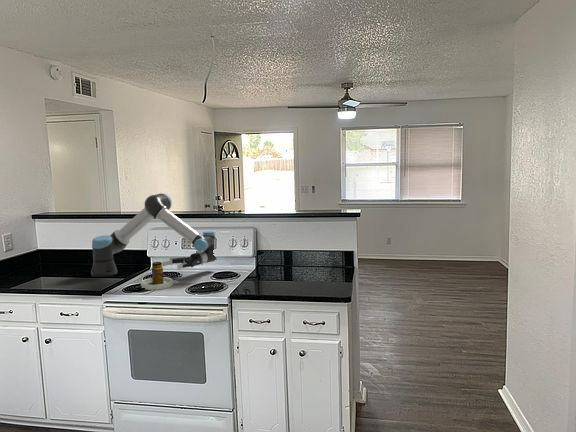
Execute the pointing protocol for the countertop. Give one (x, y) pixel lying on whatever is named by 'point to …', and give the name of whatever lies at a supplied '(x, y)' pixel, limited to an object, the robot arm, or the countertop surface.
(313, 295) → the countertop surface
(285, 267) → the countertop surface
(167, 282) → the white plate
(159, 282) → the condiment
